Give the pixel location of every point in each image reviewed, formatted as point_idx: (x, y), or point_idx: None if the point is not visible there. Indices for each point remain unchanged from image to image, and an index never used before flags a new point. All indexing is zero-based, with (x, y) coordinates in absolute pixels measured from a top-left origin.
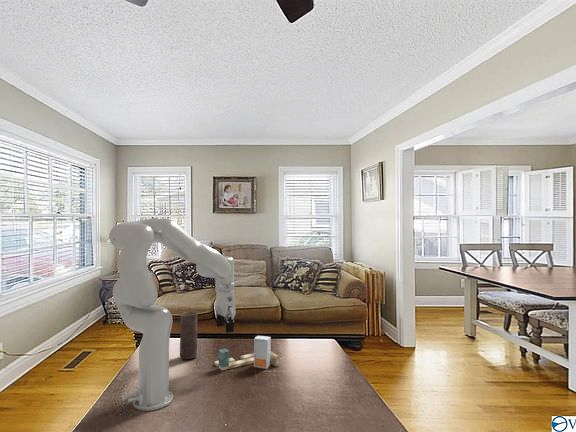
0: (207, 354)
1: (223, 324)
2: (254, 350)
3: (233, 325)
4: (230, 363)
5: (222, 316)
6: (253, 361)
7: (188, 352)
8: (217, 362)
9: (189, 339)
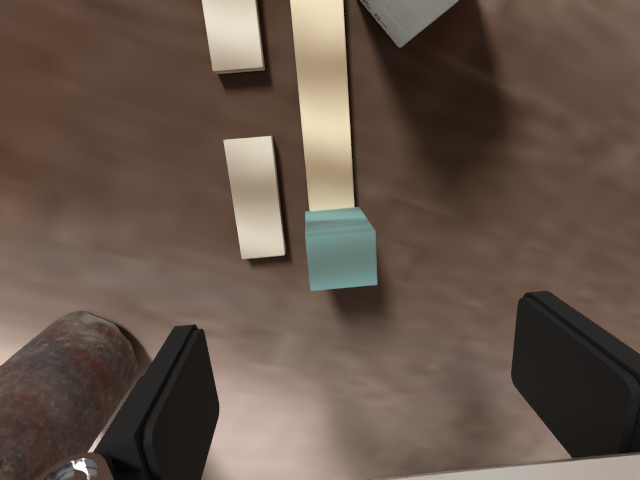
0: (66, 246)
1: (198, 339)
2: (443, 12)
3: (612, 340)
4: (324, 185)
5: (145, 463)
6: (342, 18)
7: (121, 392)
8: (266, 247)
9: None
